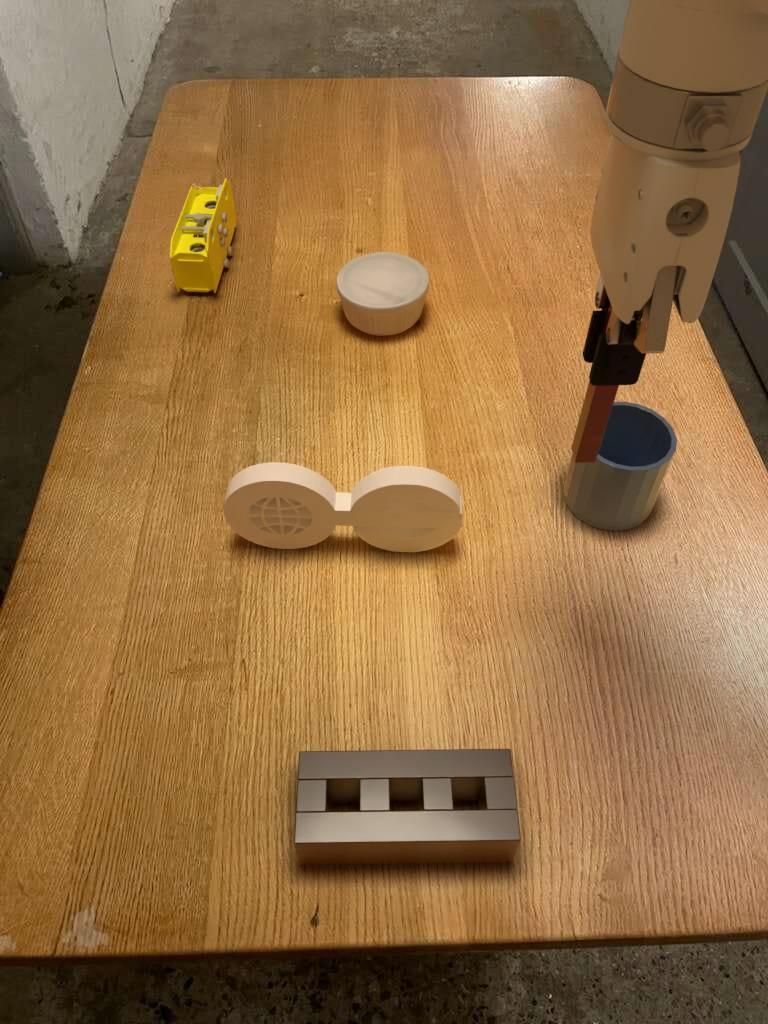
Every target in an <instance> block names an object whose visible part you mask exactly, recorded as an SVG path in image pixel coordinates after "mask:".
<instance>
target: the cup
mask: <svg viewBox="0 0 768 1024" xmlns="http://www.w3.org/2000/svg"><path fill="white" fill-rule="evenodd" d="M677 443H678V439H677V435H676V432H675V431H674V427H673V426H672V425H671V423H670V422H669V421H668V420H667V419H666V418H665V417H664V416H662V415H661V414H660V413H658V412H657V411H656V410H654V409H652V408H649V407H647V406H645V405H642V404H639V403H635V402H629V401H614V403H613V407H612V410H611V413H610V416H609V420H608V423H607V426H606V429H605V433H604V436H603V439H602V442H601V446H600V449H599V452H598V455H597V459H596V462H592V463H575V461H574V457H573V453H572V452H571V457H570V459H569V460H570V461H569V464H568V468H567V472H566V476H565V480H564V484H563V490H562V491H563V498H564V501H565V504H566V506H567V508H568V509H569V511H571V513H572V514H573V515H574V516H575V517H576V518H578V519H579V520H580V521H582V522H583V523H585V524H586V525H589V526H591V527H593V528H595V529H596V528H597V529H600V530H603V531H611V532H621V531H627V530H630V529H631V530H632V529H633V528H636V527H637V526H640V525H641V524H642V523H644V522H645V521H646V520H647V519H648V518H649V516H650V515H651V513H652V510H653V508H654V506H655V503H656V502H657V499H658V496H659V494H660V491H661V489H662V487H663V484H664V482H665V479H666V476H667V473H668V472H669V468H670V466H671V463H672V461H673V459H674V457H675V454H676V452H677V445H678V444H677Z"/></svg>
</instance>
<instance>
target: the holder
mask: <svg viewBox="0 0 768 1024" xmlns="http://www.w3.org/2000/svg"><path fill="white" fill-rule="evenodd" d="M512 759H513V758H512V750H511V749H510V748H465V749H464V748H461V749H459V748H457V749H456V748H455V749H454V748H453V749H451V748H450V749H449V748H448V749H382V750H381V749H379V750H378V749H375V750H373V749H371V750H370V749H369V750H304V751H303V750H302V751H300V750H299V751H298V761H297V762H298V763H297V766H298V767H297V781H296V798H295V799H296V800H295V802H296V803H295V821H294V836H293V837H294V838H293V844H294V848H295V852H296V856H297V859H298V864H299V865H303V866H306V865H369V864H370V865H372V864H373V865H374V864H375V865H377V864H379V865H380V864H441V863H442V864H448V863H451V864H453V863H504V862H505V863H512V862H513V861H514V858H515V856H516V853H517V851H518V848H519V846H520V844H521V841H522V837H521V827H520V818H519V811H518V802H517V791H516V784H515V777H514V768H513V767H514V766H513V760H512ZM418 802H419V810H391V803H418ZM454 802H477V803H478V809H455V806H454ZM349 803H350V804H353V803H355V804H356V803H359V811H331V804H349Z"/></svg>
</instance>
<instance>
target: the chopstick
mask: <svg viewBox="0 0 768 1024" xmlns="http://www.w3.org/2000/svg"><path fill="white" fill-rule="evenodd" d="M611 312H612V306H611V303H610V306H609V310H608V314H607V317H606V321H605V325H604V328H603V332H602V334H604V333H606V330H607V326H608V323H609V319H610V315H611ZM640 316H641V315H634V317H635V319H634V320H631V321H639V319H640ZM619 386H620V385H606V386H593V385H591V383H590V380H589V379H588V384H587V389H586V392H585V396H584V399H583V403H582V407H581V411H580V413H579V418H578V421H577V425H576V429H575V433H574V437H573V439H572V443H571V447H570V448H571V454H572V453H573V457H574V461H575V463H592V462H596V459H597V455H598V452H599V449H600V446H601V442H602V439H603V436H604V433H605V429H606V426H607V423H608V420H609V416H610V413H611V410H612V407H613V403H614V402H615V400H616V396H617V393H618V391H619V388H620V387H619Z"/></svg>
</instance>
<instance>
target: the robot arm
mask: <svg viewBox="0 0 768 1024" xmlns="http://www.w3.org/2000/svg"><path fill="white" fill-rule="evenodd" d="M767 92H768V0H628V5H627V9H626V14H625V19H624V23H623V29H622V33H621V38H620V43H619V48H618V53H617V56H616V61H615V67H614V71H613V76H612V81H611V85H610V91H609V96H608V100H607V104H606V109H605V110H606V111H605V113H604V114H605V115H604V124H605V125H606V128H607V130H608V131H609V133H610V134H611V136H610V139H609V143H608V146H607V151H606V154H605V158H604V161H603V166H602V170H601V173H600V177H599V181H598V186H597V190H596V195H595V199H594V205H593V210H592V216H591V222H590V243H591V247H592V252H593V255H594V258H595V260H596V261H595V262H596V265H597V267H598V270H599V276H598V281H597V286H596V290H595V295H594V306H595V310H592V312H591V317H590V320H589V325H588V329H587V334H586V338H585V342H584V346H583V351H582V358H583V361H584V362H585V363H588V364H591V367H590V371H589V374H588V378H589V379H588V381H589V380H590V383H591V385H593V386H606V385H619V386H633V385H635V384H637V383H638V381H639V379H640V376H641V372H642V369H643V366H644V362H645V359H646V356H647V354H663V353H664V352H665V350H666V344H667V338H668V333H669V327H670V320H671V314H672V309H673V304H674V306H675V309H676V311H677V314H678V316H679V318H680V321H681V323H688V324H693V323H695V322H696V321H697V320H698V319H699V318H700V316H701V314H702V311H703V309H704V307H705V305H706V304H705V303H706V301H707V298H708V295H709V292H710V289H711V284H712V282H713V279H714V276H715V273H716V268H717V265H718V263H719V260H720V257H721V253H722V249H723V245H724V242H725V238H726V235H727V231H728V227H729V223H730V219H731V215H732V211H733V206H734V202H735V196H736V192H737V187H738V180H739V175H740V168H741V162H742V157H741V153H740V152H741V151H742V150H744V149H745V147H747V145H748V144H749V142H750V140H751V138H752V135H753V132H754V129H755V126H756V123H757V120H758V117H759V115H760V112H761V108H762V106H763V104H764V100H765V98H766V94H767ZM610 303H611V306H612V312H611V315H610V319H609V323H608V326H607V330H606V333H604V334H602V332H603V328H604V325H605V321H606V317H607V314H608V310H609V306H610ZM596 309H597V310H596ZM634 315H641V316H640V319H639V321H631V320H634V319H635V317H634Z"/></svg>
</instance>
